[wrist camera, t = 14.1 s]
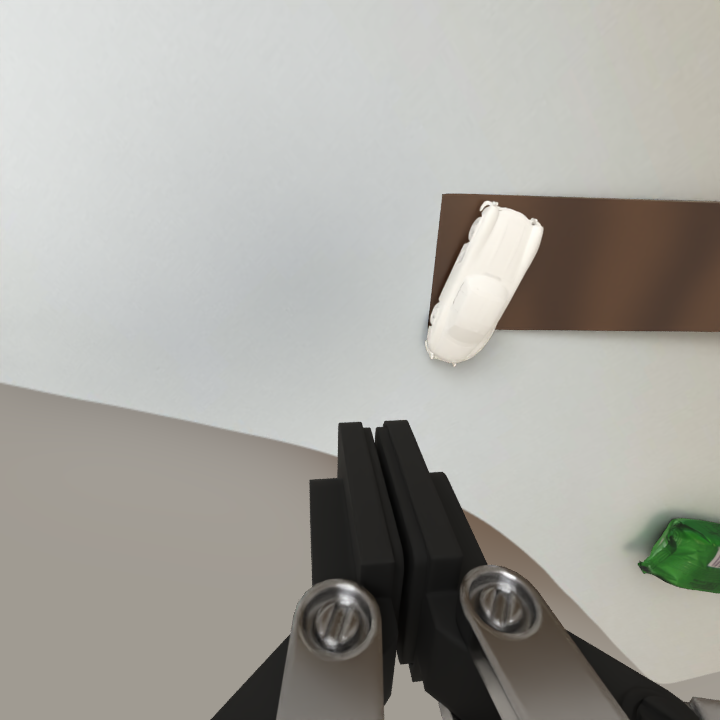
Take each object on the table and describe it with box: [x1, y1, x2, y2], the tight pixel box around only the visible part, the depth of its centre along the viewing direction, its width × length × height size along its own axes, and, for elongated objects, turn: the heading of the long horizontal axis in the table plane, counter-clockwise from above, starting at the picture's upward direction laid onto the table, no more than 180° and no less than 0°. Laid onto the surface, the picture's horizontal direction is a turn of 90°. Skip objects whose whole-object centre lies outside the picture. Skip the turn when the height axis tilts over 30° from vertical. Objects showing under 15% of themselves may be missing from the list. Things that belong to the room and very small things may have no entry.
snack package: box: [638, 518, 720, 593], centre depth 47 cm, size 7×16×5 cm, turn 71°
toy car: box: [425, 201, 543, 367], centre depth 31 cm, size 5×12×4 cm, turn 159°
